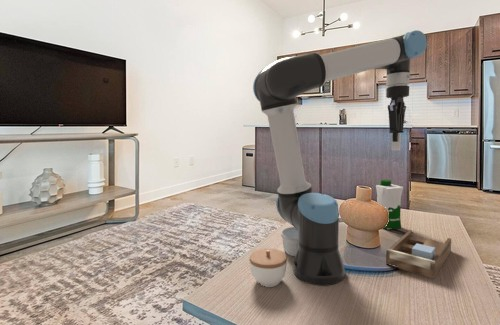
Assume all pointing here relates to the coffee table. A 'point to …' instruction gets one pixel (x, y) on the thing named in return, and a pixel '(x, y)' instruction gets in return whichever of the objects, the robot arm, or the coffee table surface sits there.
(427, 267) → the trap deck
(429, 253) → the blue block
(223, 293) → the coffee table surface
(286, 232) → the ramekin
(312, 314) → the coffee table surface
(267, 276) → the lidded jar
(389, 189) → the milk carton
